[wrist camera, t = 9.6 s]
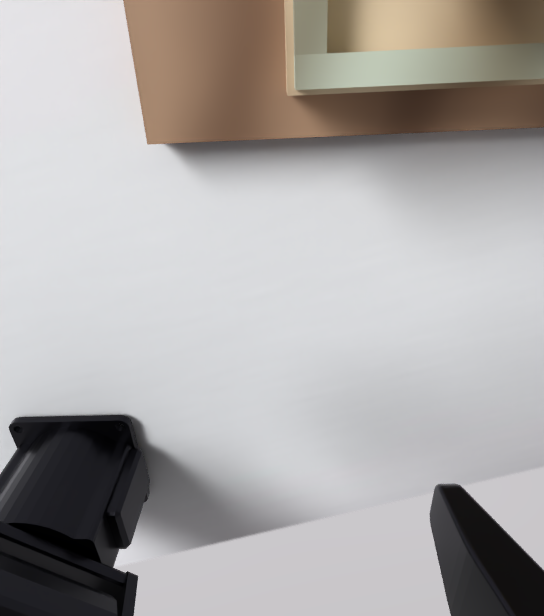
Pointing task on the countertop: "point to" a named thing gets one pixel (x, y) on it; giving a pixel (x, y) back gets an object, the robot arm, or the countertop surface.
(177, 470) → the countertop surface
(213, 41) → the plinth
